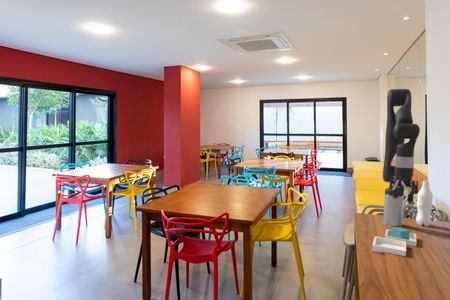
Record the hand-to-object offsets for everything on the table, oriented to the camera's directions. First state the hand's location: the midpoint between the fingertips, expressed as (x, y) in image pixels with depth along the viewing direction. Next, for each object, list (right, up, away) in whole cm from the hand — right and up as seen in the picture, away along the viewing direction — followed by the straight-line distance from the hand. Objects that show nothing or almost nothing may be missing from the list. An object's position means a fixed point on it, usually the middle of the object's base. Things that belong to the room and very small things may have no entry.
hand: (402, 200), depth 143 cm
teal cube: (0, -19, +1) cm, 19 cm away
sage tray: (0, -20, +1) cm, 20 cm away
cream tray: (-11, -21, -9) cm, 25 cm away
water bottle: (+28, -19, +27) cm, 43 cm away
